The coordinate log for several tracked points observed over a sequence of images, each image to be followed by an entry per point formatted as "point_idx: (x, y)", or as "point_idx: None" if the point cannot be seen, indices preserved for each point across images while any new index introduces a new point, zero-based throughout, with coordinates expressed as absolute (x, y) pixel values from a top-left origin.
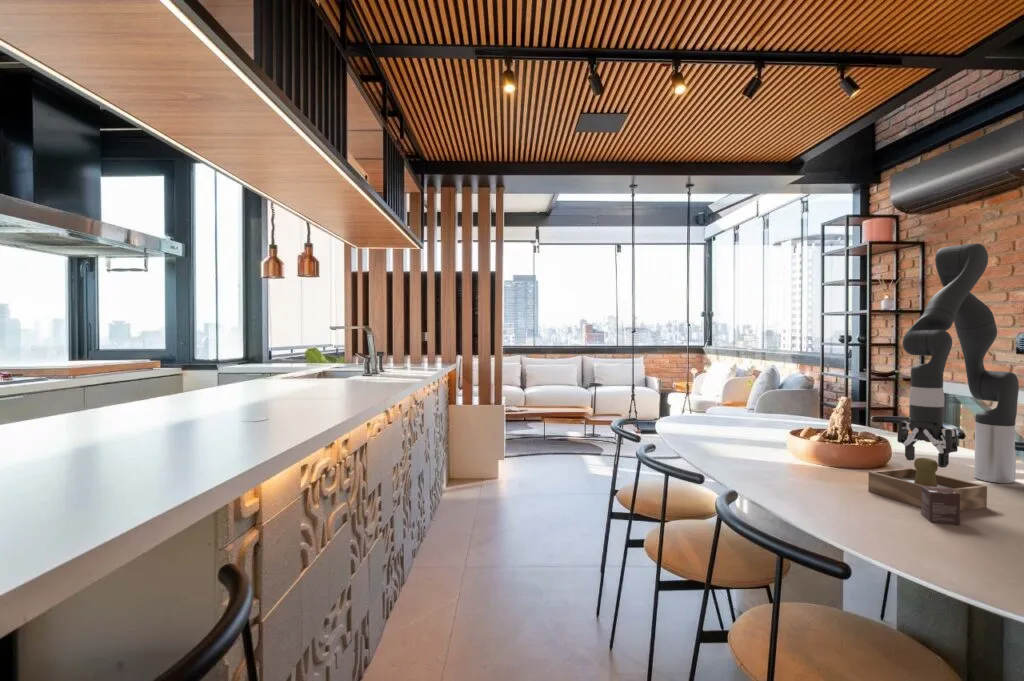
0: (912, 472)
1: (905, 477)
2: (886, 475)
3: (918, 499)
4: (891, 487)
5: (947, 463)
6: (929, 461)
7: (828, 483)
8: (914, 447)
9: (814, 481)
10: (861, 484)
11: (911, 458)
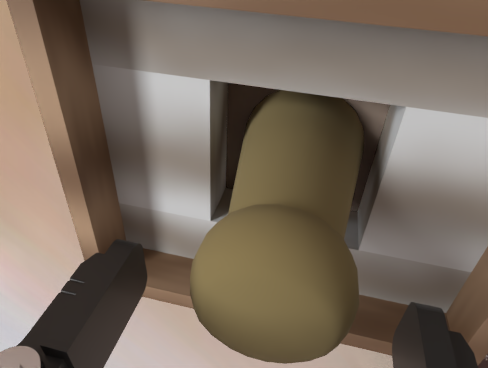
0: None
1: (85, 40)
2: (102, 198)
3: None
4: None
5: (467, 365)
6: (316, 356)
7: (30, 237)
8: (72, 342)
9: (7, 249)
10: (42, 152)
11: (138, 274)
